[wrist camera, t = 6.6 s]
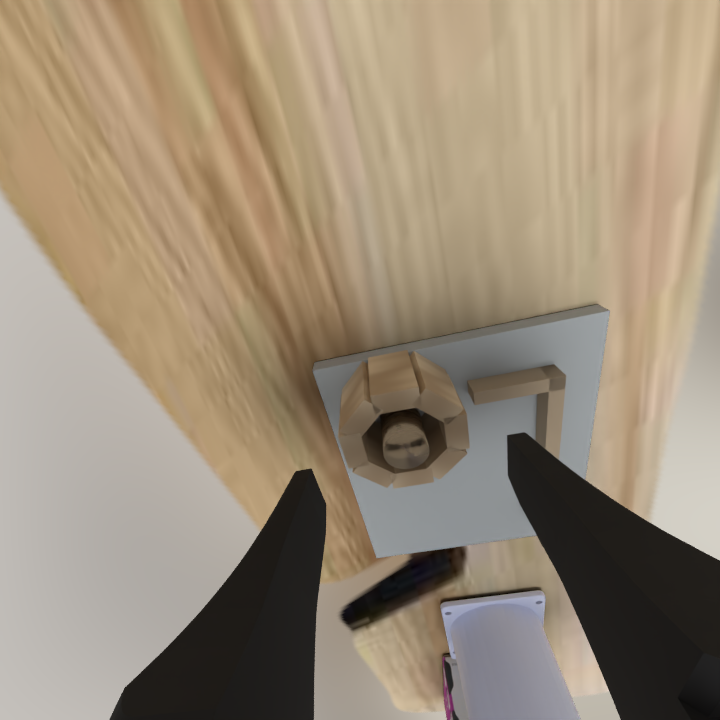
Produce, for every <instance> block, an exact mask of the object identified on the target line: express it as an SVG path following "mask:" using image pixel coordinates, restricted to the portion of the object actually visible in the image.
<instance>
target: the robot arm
mask: <svg viewBox="0 0 720 720" xmlns="http://www.w3.org/2000/svg"><path fill="white" fill-rule="evenodd" d="M507 461H508V477H509V480H510V482H511V485H512V487H513V490H514V492H515V494H516V497H517V499H518V501H519V504H520V506H521V507H522V509H523V511H524V513H525V515H526V517H527V518H528V520H529V522H530V524H531V526H532V527H533V529H534V531H535V533H536V535H537V536H538V538H539V540H540V542H541V544H542V545H543V547H544V549H545V551H546V553H547V554H548V556H549V558H550V560H551V562H552V563H553V565H554V567H555V569H556V571H557V573H558V575H559V577H560V579H561V581H562V583H563V585H564V587H565V589H566V591H567V594H568V596H569V598H570V600H571V603H572V605H573V607H574V609H575V611H576V614H577V616H578V618H579V620H580V623H581V625H582V627H583V630H584V632H585V634H586V637H587V639H588V641H589V644H590V646H591V648H592V650H593V653H594V655H595V658H596V660H597V662H598V665H599V667H600V670H601V672H602V674H603V677H604V679H605V682H606V684H607V686H608V689H609V691H610V694H611V696H612V698H613V701H614V704H615V706H616V709H617V711H618V714H619V716H620V719H621V720H720V561H719V560H717V559H715V558H713V557H712V556H710V555H708V554H706V553H704V552H702V551H700V550H698V549H696V548H695V547H693V546H691V545H689V544H687V543H685V542H683V541H681V540H679V539H678V538H676V537H674V536H672V535H670V534H668V533H667V532H665V531H663V530H661V529H659V528H658V527H656V526H654V525H653V524H651V523H649V522H648V521H646V520H644V519H643V518H641V517H639V516H638V515H636V514H635V513H633V512H631V511H630V510H628V509H627V508H625V507H624V506H622V505H620V504H619V503H617V502H616V501H614V500H613V499H611V498H610V497H609V496H607V495H606V494H604V493H603V492H601V491H600V490H598V489H597V488H596V487H594V486H593V485H591V484H590V483H589V482H587V481H586V480H584V479H583V478H582V477H580V476H579V475H578V474H577V473H575V472H574V471H573V470H571V469H570V468H569V467H567V466H566V465H565V464H563V463H562V462H561V461H560V460H558V459H557V458H556V457H555V456H553V455H552V454H551V453H550V452H549V451H547V450H546V449H545V448H544V447H542V446H541V445H540V444H539V443H538V442H537V441H535V440H534V439H533V438H532V437H531V436H529V435H528V434H527V433H525V432H522V433H517V434H511V435H507ZM325 535H326V503H325V500H324V498H323V496H322V493H321V491H320V488H319V486H318V483H317V481H316V478H315V476H314V474H313V471H312V469H306V470H300V471H296V472H295V473H294V475H293V477H292V479H291V480H290V482H289V484H288V486H287V488H286V489H285V491H284V493H283V495H282V497H281V498H280V500H279V502H278V504H277V506H276V507H275V509H274V511H273V512H272V514H271V516H270V517H269V519H268V521H267V522H266V524H265V526H264V527H263V529H262V530H261V532H260V533H259V535H258V537H257V538H256V540H255V541H254V543H253V544H252V546H251V547H250V549H249V550H248V552H247V553H246V555H245V556H244V558H243V559H242V560H241V562H240V563H239V564H238V566H237V567H236V568H235V570H234V571H233V572H232V574H231V575H230V576H229V578H228V579H227V580H226V582H225V583H224V584H223V585H222V587H221V588H220V589H219V590H218V591H217V593H216V594H215V595H214V596H213V598H212V599H211V600H210V601H209V602H208V604H207V605H206V606H205V607H204V608H203V609H202V611H201V612H200V613H199V614H198V615H197V616H196V617H195V618H194V619H193V621H191V623H190V624H189V625H188V626H187V627H186V628H185V629H184V630H183V631H182V632H181V633H180V634H179V635H178V636H177V638H176V639H175V640H174V641H173V642H172V643H171V644H170V645H169V646H168V647H167V648H166V649H165V650H164V651H163V652H162V653H161V654H160V655H159V656H158V657H157V658H156V659H155V660H153V661H152V662H151V663H150V664H149V665H148V666H147V667H146V668H145V669H144V670H143V671H142V672H141V673H140V674H139V675H138V676H137V677H136V678H135V679H134V680H133V681H132V682H131V683H129V684H128V685H127V687H125V688H124V691H123V693H122V694H121V697H120V698H119V701H118V703H117V705H116V707H115V709H114V711H113V713H112V716H111V718H110V720H314V662H315V659H314V658H315V631H316V611H317V600H318V592H319V584H320V576H321V568H322V560H323V552H324V544H325ZM545 599H546V597H545V595H544V593H543V592H542V591H540V590H536V591H528V592H520V593H512V594H504V595H496V596H488V597H480V598H472V599H465V600H457V601H449V602H443V603H442V604H441V605H440V607H441V612H442V617H443V622H444V626H445V631H446V636H447V641H448V645H449V650H450V655H451V658H452V659H456V660H457V665H458V670H459V675H460V680H461V685H462V689H463V694H464V699H465V704H466V709H467V713H468V718H469V720H581V718H580V716H579V714H578V711H577V709H576V707H575V704H574V702H573V699H572V697H571V694H570V692H569V689H568V687H567V685H566V682H565V680H564V677H563V675H562V673H561V670H560V668H559V665H558V663H557V661H556V658H555V656H554V653H553V651H552V649H551V646H550V644H549V641H548V639H547V637H546V634H545V632H544V629H543V622H544V611H545Z"/></svg>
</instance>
